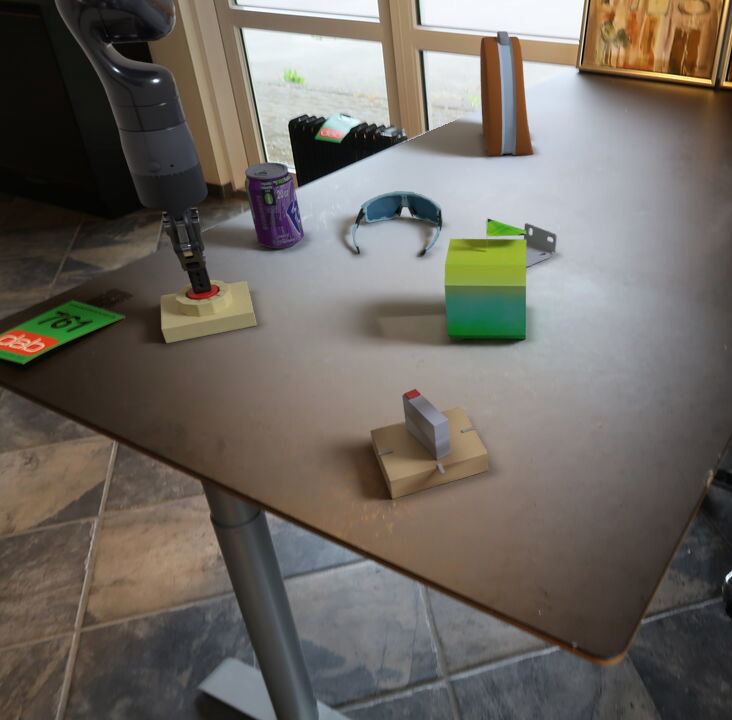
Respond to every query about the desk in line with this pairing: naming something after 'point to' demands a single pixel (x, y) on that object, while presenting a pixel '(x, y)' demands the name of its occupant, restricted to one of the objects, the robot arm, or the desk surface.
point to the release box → (206, 312)
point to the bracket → (538, 244)
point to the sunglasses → (400, 210)
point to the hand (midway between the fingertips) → (203, 290)
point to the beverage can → (273, 205)
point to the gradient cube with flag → (487, 285)
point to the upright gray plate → (426, 424)
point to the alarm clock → (503, 96)
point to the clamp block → (428, 456)
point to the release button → (202, 294)
